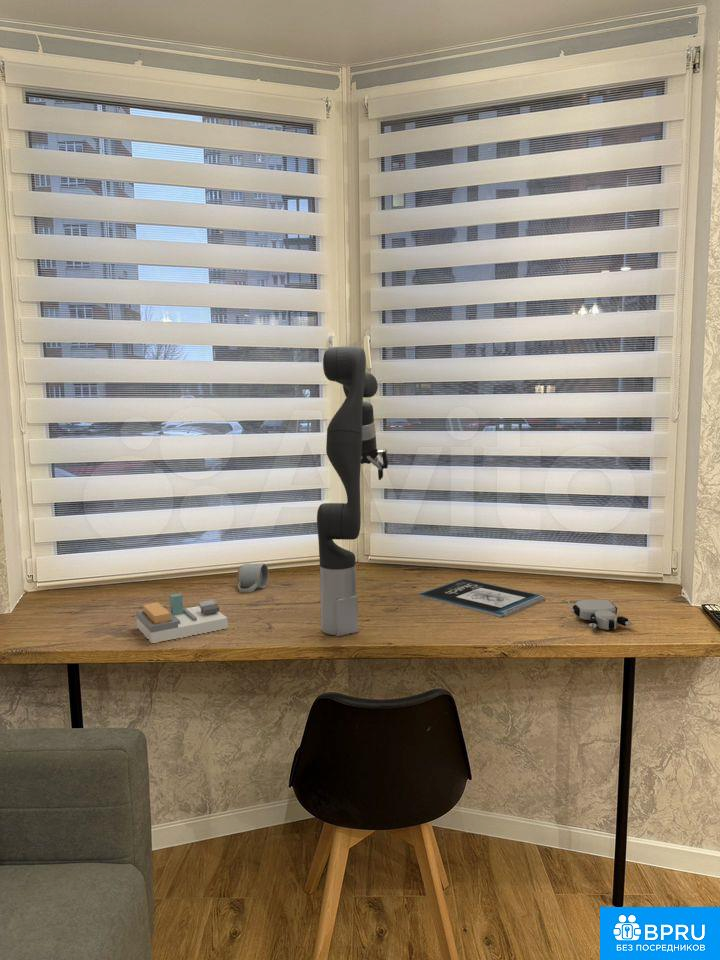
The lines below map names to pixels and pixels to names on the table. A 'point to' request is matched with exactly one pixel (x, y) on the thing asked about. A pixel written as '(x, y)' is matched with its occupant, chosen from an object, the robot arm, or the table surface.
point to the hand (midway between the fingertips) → (367, 478)
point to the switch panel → (181, 624)
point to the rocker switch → (208, 607)
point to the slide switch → (176, 604)
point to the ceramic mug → (252, 577)
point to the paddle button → (156, 612)
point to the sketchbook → (483, 597)
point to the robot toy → (599, 613)
